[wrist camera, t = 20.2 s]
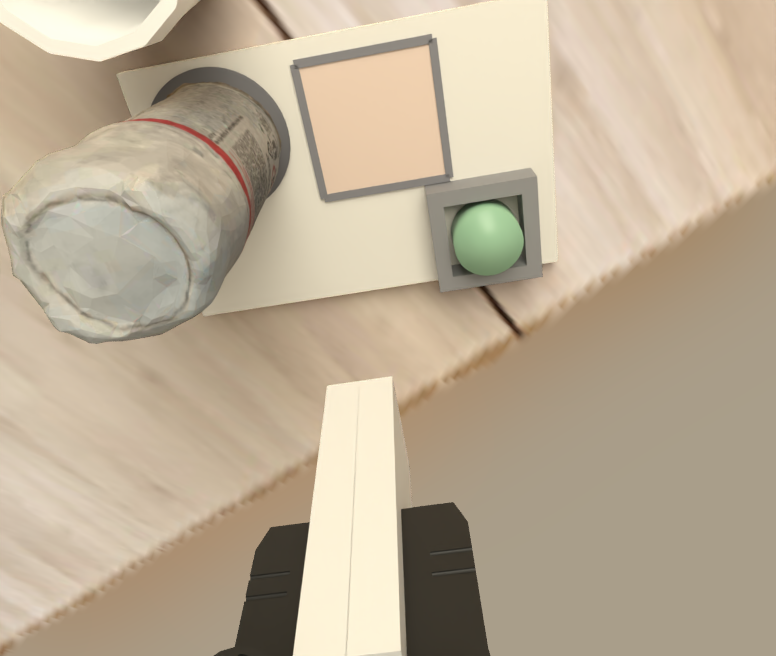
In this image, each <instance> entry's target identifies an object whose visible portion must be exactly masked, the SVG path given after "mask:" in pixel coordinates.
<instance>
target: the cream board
mask: <svg viewBox="0 0 776 656" xmlns="http://www.w3.org/2000/svg"><path fill="white" fill-rule="evenodd" d="M200 67H220V68H226V69H230V70H233V71H236V72H238V73H241V74H243V75H245V76H247V77H248V78H250V79H252V80H253V81H255V82H256V83H257V84H259V85H260V86H261V87H262V88H263V89H264V90H265V91H266V92H267V93H268V94H269V95H270V96H271V97H272V98H273V100H274V101H275V102H276V104H277V105H278V107H279V109H280V110H281V112H282V114H283V117H284V119H285V121H286V124H287V127H288V131H289V137H290V159H289V164H288V168H287V171H286V173H285V176H284V178H283V179H282V181H281V183H280V185H279V186H278V188H277V189H276V190H275V191H274V192H273V193H272V194H271V196H270V197H268V198H267V199H266V200H265V202H264V204H263V207H262V209H261V210H260V213H259V215H258V217H257V219H256V221H255V224H254V227H253V229H252V231H251V233H250V235H249V237H248V239H247V241H246V243H245V246H244V249H243V251H242V253H241V255H240V256H239V258H238V260H237V261H236V263H235V264H234V266H233V267H232V269H231V270H230V271H229V273H228V274H227V275H226V277H225V278H224V281H223V283H222V285H221V288H220V290H219V292H218V294H217V296H216V297H215V299H214V300H213V302H212V303H211V304H210V305H209V306H208V307H207V308H206V309H205V310H204V311H202V313H203V316H210V315H217V314H223V313H230V312H236V311H242V310H249V309H255V308H262V307H268V306H275V305H281V304H287V303H294V302H300V301H307V300H313V299H320V298H326V297H333V296H339V295H345V294H352V293H358V292H365V291H371V290H378V289H384V288H390V287H397V286H403V285H410V284H416V283H423V282H429V281H436V280H438V281H439V287H440V292H447V291H453V290H460V289H466V288H473V287H479V286H486V285H492V284H499V283H505V282H512V281H518V280H525V279H531V278H538V277H543V274H542V264H545V263H551V262H558V252H557V227H556V202H555V178H554V153H553V128H552V104H551V79H550V54H549V30H548V5H547V0H493V1H488V2H483V3H477V4H472V5H467V6H462V7H456V8H451V9H446V10H441V11H436V12H430V13H425V14H420V15H415V16H410V17H404V18H399V19H394V20H389V21H384V22H378V23H373V24H368V25H363V26H357V27H352V28H347V29H342V30H337V31H331V32H326V33H321V34H316V35H311V36H305V37H300V38H295V39H290V40H285V41H279V42H274V43H269V44H264V45H258V46H253V47H248V48H243V49H238V50H232V51H227V52H222V53H217V54H212V55H206V56H201V57H196V58H191V59H186V60H180V61H175V62H170V63H165V64H160V65H154V66H149V67H144V68H139V69H133V70H128V71H123V72H120V73H118V74H116V76H117V79H118V81H119V84H120V87H121V90H122V92H123V95H124V98H125V101H126V103H127V106H128V109H129V112H130V114H131V117H133V116H134V115H136V114H138V113H140V112H141V111H143V110H146V109H147V108H149V107H151V104H152V102H153V100H154V98H155V97H156V95H157V93H158V92H159V91H160V89H161V88H162V87H163V86H164V85H165V84H166V83H167V82H168V81H170V80H171V79H172V78H174V77H176V76H177V75H179V74H181V73H183V72H186V71H188V70H191V69H195V68H200ZM490 199H495V200H498V201H501V202H502V203H504V204H505V205H507V206H508V207H509V208H510V210H511V211H512V213H513V214H514V216H515V218H516V220H517V222H518V224H519V226H520V228H521V230H522V233H523V238H524V244H523V249H522V252H521V255H520V256H519V258H518V260H517V261H516V262H515V263H514V264H513V265H512V266H511V267H510V268H509V269H507V270H505V271H504V272H502V273H499V274H496V275H489V276H483V275H477V274H474V273H472V272H470V271H468V270H467V269H465V268H464V267H463V266H462V265H461V263H460V262H459V260H458V259H457V256H456V253H455V249H454V245H453V241H452V236H451V226H452V222H453V220H454V217H455V216H456V214H457V213H458V211H459V210H460V209H461V208H462V207H463V206H465V205H466V204H468V203H472V202H478V201H484V200H490Z"/></svg>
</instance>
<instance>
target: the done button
mask: <svg viewBox="0 0 776 656" xmlns="http://www.w3.org/2000/svg"><path fill="white" fill-rule="evenodd" d="M451 236H452V241H453V245H454V249H455V253H456V256H457V259H458V260H459V262H460V263H461V265H462V266H463V267H464V268H465V269H467V270H468V271H470V272H472V273H474V274H477V275H483V276H489V275H496V274H499V273H502V272H504V271H505V270H507V269H509V268H510V267H511V266H512V265H513V264H514V263H515V262H516V261H517V260H518V258H519V256H520V255H521V252H522V249H523V244H524V238H523V233H522V230H521V228H520V226H519V224H518V222H517V220H516V218H515V216H514V214H513V213H512V211H511V210H510V208H509V207H508V206H507V205H505V204H504V203H502V202H501V201H498V200H495V199H490V200H484V201H478V202H472V203H468V204H466V205H465V206H463V207H462V208H461V209H460V210H459V211H458V213H457V214H456V216H455V217H454V220H453V222H452V226H451Z"/></svg>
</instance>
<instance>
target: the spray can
mask: <svg viewBox="0 0 776 656" xmlns="http://www.w3.org/2000/svg"><path fill="white" fill-rule="evenodd" d="M280 152H281V139H280V135H279V133H278V131H277V128H276V125H275V124H274V122H273V120H272V118H271V116H270V114H269V113H268V111H267V110H266V109H264V108H263V105H262V104H261V103H259V102H258V101H256V100H255V99H254V98H253V97H251V96H249V94H247V93H246V92H244V91H242V90H239V89H238V88H235V87H233V86H230V85H228V84H226V83H223V82H199V83H183V84H182V85H181V86H179V87H178V88H176V89H175V90H174V91H173V92H172V93H170V94H169V95H167V97H166V99H165V100H163V101H160V102H158V103H157V104H154V105H152V106H151V107H149V108H147V109H146V110H143V111H141V112H140V113H138V114H136V115H134V116H133V117H131V118H129V119H126V120H125V121H123V122H118V123H113V124H110V125H107V126H104V127H102V128H99V129H97V130H95V131H93V132H92V133H90V134H88V135H87V136H86V137H85V138H83V139H82V140H81V141H80V142H79V143H78V144H77V145H75V146H72V147H69V148H66V149H63V150H59V151H56V152H53V153H50V154H47V155H46V156H45V157H44V158H42V159H40V160H37V161H36V162H35V163H34V165H33V166H32V167H31V168H30V169H29V170H28V171H27V172H26V173H25V175H24V176H23V177H22V178H21V179H20V180H19V181H18V182H17V183H16V184H15V186H14V187H13V188H12V189H11V190H10V191H9V192H8V193H6V194H3V197H2V210H1V224H2V229H3V232H4V236H5V239H6V243H7V246H8V250H9V254H10V258H11V264H12V273H13V276H15V277H16V278H18V279H20V281H21V282H22V283H23V284H24V286H25V287H26V288H27V289H28V291H29V292H30V293H31V295H32V296H33V297H34V298H35V300H36V301H37V302H38V303H39V305H40V306H41V307H42V309H43V310H44V312H45V313H46V315H47V317H48V318H49V320H50V322H51V323H52V324H53V326H54V327H55V328H56V329H57V330H58V331H61V332H65V333H69V334H71V335H74V336H76V337H78V338H80V339H82V340H84V341H86V342H88V343H95V344H98V343H102V342H109V341H126V340H133V339H139V338H145V337H150V336H155V335H160V334H163V333H165V332H167V331H169V330H171V329H172V328H174V327H176V326H178V325H179V324H181V323H183V322H185V321H187V320H189V319H191V318H193V317H194V316H196V315H198V314H199V313H201V312H202V311H204V310H205V309H206V308H207V307H208V306H209V305H210V304H211V303H212V302H213V300H214V299H215V297H216V296H217V294H218V292H219V290H220V288H221V285H222V283H223V281H224V278H225V277H226V275H227V274H228V273H229V271H230V270H231V269H232V267H233V266H234V264H235V263H236V261H237V260H238V258H239V256H240V255H241V253H242V251H243V249H244V246H245V243H246V241H247V239H248V237H249V235H250V233H251V231H252V229H253V227H254V224H255V221H256V219H257V217H258V215H259V213H260V210H261V209H262V207H263V204H264V202H265V200H266V198H267V196H268V194H269V192H270V191H271V188H272V186H273V184H274V181H275V179H276V176H277V173H278V167H279V158H280Z"/></svg>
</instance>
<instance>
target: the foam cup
mask: <svg viewBox="0 0 776 656" xmlns="http://www.w3.org/2000/svg"><path fill="white" fill-rule="evenodd" d="M199 1H200V0H0V23H2V24H3V25H5V26H7V27H8V28H10V29H11V30H13V31H15V32H16V33H18V34H19V35H21V36H22V37H24V38H26V39H27V40H29V41H30V42H32V43H33V44H35V45H37V46H38V47H40V48H41V49H43V50H44V51H46V52H48V53H50V54H56V55H62V56H68V57H74V58H80V59H87V60H93V61H99V62H101V61H104V60H107V59H110V58H114V57H117V56H120V55H123V54H126V53H129V52H132V51H135V50H138V49H140V48H143V47H146V46H149V45H152V44H155V43H158V42H160V41H162V40H163V39H164V38H165V37H166V36H167V34H168V33H169V32H170V31H171V30H172V28H173V27H174V26H175V25H176V24H177V22H178V21H179V20H180V19H181V18H182V16H183V15H184V14H186V13H187V12H188V11H189V10H190V9H191V8H192V7H193V6H195V5H196V4H197V3H198V2H199Z"/></svg>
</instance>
